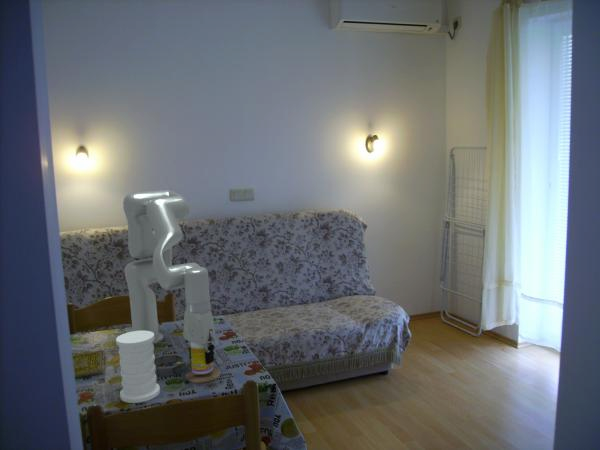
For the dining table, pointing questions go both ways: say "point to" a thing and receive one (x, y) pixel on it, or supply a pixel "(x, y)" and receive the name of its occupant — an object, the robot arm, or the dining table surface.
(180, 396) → the dining table surface
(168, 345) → the dining table surface
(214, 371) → the coaster
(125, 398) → the decorative container
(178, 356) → the collar
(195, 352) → the supplement bottle
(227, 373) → the dining table surface
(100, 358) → the dining table surface
